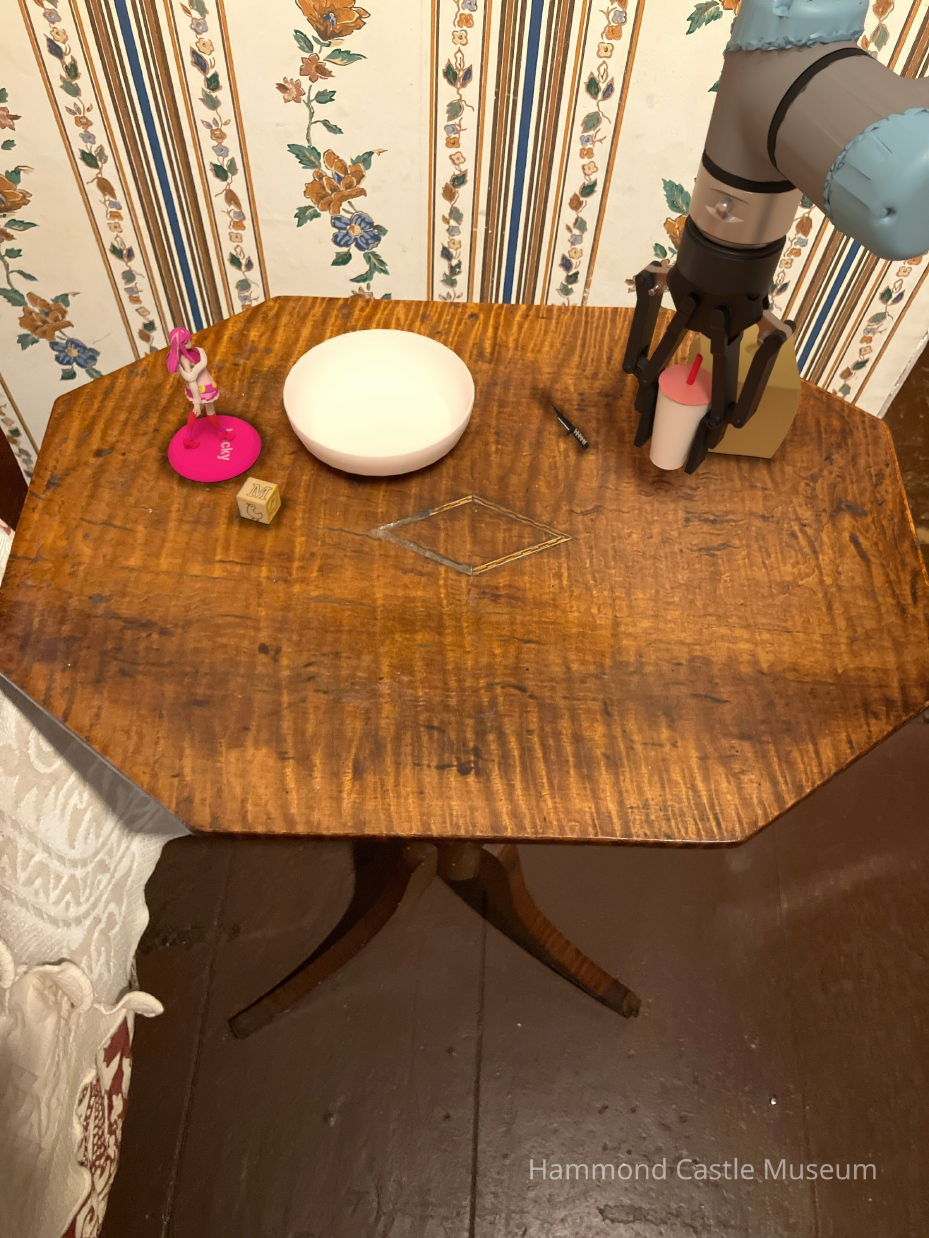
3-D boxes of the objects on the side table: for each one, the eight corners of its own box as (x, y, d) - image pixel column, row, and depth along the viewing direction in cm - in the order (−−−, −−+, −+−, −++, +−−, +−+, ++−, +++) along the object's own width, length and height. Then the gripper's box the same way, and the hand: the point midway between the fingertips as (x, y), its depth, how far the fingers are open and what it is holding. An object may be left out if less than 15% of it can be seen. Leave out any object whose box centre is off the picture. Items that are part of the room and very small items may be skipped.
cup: (695, 441, 86) (729, 339, 76) (694, 481, 83) (729, 380, 73) (640, 434, 86) (667, 331, 76) (637, 473, 83) (665, 371, 73)
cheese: (675, 388, 100) (696, 313, 92) (770, 399, 99) (800, 324, 91) (674, 452, 94) (697, 378, 86) (776, 464, 93) (809, 390, 85)
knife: (533, 397, 99) (533, 395, 98) (545, 393, 99) (545, 391, 99) (579, 453, 94) (579, 450, 93) (591, 448, 94) (591, 446, 94)
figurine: (262, 478, 90) (235, 359, 78) (166, 487, 89) (123, 368, 77) (260, 414, 96) (234, 293, 83) (169, 421, 95) (129, 301, 82)
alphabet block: (254, 496, 89) (248, 475, 86) (282, 504, 88) (278, 482, 86) (240, 518, 87) (234, 497, 85) (269, 525, 87) (264, 505, 84)
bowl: (446, 362, 101) (446, 316, 96) (495, 481, 91) (498, 437, 86) (277, 389, 98) (269, 343, 93) (308, 516, 87) (300, 473, 82)
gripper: (608, 200, 66) (569, 431, 85) (828, 294, 60) (733, 520, 79) (659, 161, 69) (611, 391, 88) (872, 246, 63) (771, 473, 83)
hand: (668, 451), depth 84 cm, fingers closed on cup, 5 cm apart
